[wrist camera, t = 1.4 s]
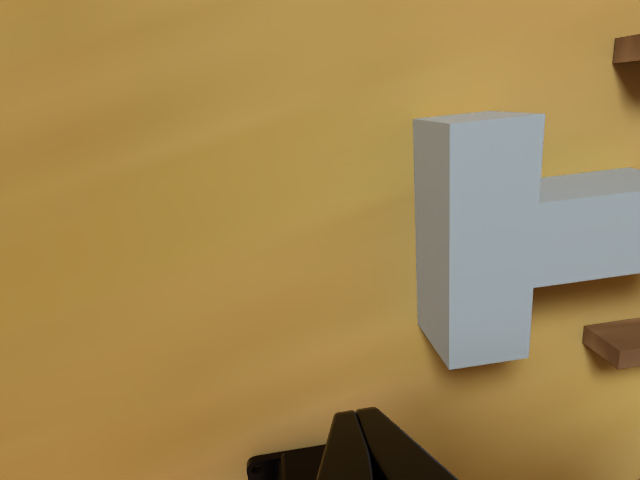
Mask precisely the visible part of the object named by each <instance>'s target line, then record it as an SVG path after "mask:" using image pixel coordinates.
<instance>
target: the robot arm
mask: <svg viewBox="0 0 640 480" xmlns="http://www.w3.org/2000/svg"><path fill="white" fill-rule="evenodd" d="M254 466H260V467H254ZM247 476H248V480H458V479H457V478H456V477H455V476H454V475H453V474H451V473H450V472H449V471H448V470H447V469H446V468H445V467H443V466H442V465H441V464H440V463H439V462H438V461H437V460H435V459H434V458H433V457H432V456H431V455H430V454H429V453H428V452H426V451H425V450H424V449H423V448H422V447H421V446H420V445H418V444H417V443H416V442H415V441H414V440H413V439H412V438H411V437H409V436H408V435H407V434H406V433H405V432H404V431H403V430H401V429H400V428H399V427H398V426H397V425H396V424H395V423H393V422H392V421H391V420H390V419H389V418H388V417H387V416H386V415H384V414H383V413H382V412H381V411H380V410H379V409H378V408H376V407H369V408H363V409H358V410H357V411H356V413H355V411H353V410H350V411H344V412H338V413H336V414H335V415H334V417H333V421H332V425H331V428H330V432H329V436H328V439H327V443H326V445H320V446H314V447H307V448H301V449H295V450H289V451H283V452H277V453H271V454H265V455H259V456H254V457H251V458H250V459H249V460H248V462H247Z"/></svg>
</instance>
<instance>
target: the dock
mask: <svg viewBox="0 0 640 480" xmlns="http://www.w3.org/2000/svg"><path fill="white" fill-rule="evenodd" d="M631 61H640V34H638V35H632V36H626V37H621V38H615V48H614V57H613V63H621V62H631ZM583 343H584V344H585V345H587V346H588V347H589V348H591V349H592V350H593V351H594V352H596V353H597V354H598V355H600V356H601V357H602V358H604V359H605V360H606V361H608V362H609V363H610V364H612V365H613V366H614V367H616V368H617V369H623V368H629V367H635V366H640V318H635V319H628V320H621V321H614V322H608V323H601V324H594V325H587V326H584V334H583Z"/></svg>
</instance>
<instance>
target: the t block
mask: <svg viewBox="0 0 640 480" xmlns="http://www.w3.org/2000/svg"><path fill="white" fill-rule="evenodd" d="M544 124H545V114H537V113H519V112H500V111H485V112H476V113H466V114H456V115H446V116H436V117H426V118H416V119H413V143H414V186H415V228H416V270H417V312H418V325H419V327H420V328H421V329H422V331H423V332H424V334H425V335H426V337H427V338H428V340H429V341H430V343H431V344H432V346H433V347H434V349H435V350H436V351H437V353H438V354H439V356H440V357H441V359H442V360H443V362H444V363H445V365H446V366H447V368H448V369H449V370H452V369H459V368H465V367H472V366H478V365H485V364H492V363H498V362H505V361H511V360H518V359H524V358H529V345H530V331H531V316H532V301H533V288H537V287H544V286H551V285H559V284H566V283H573V282H580V281H587V280H595V279H602V278H609V277H616V276H623V275H630V274H638V273H640V170H639V169H634V168H621V169H612V170H604V171H595V172H586V173H578V174H569V175H561V176H552V177H543V178H541V168H542V153H543V139H544Z"/></svg>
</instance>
